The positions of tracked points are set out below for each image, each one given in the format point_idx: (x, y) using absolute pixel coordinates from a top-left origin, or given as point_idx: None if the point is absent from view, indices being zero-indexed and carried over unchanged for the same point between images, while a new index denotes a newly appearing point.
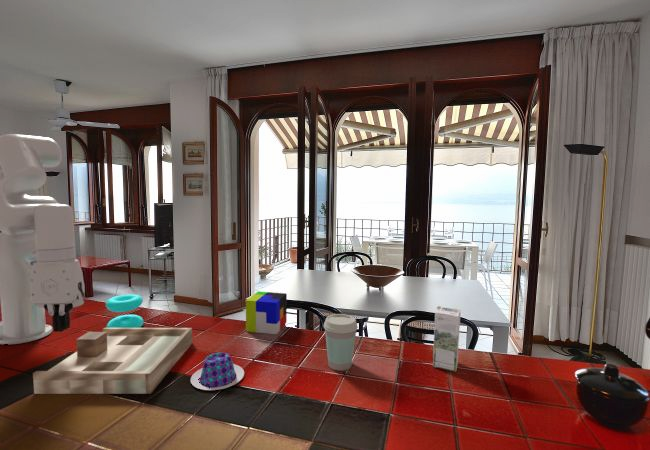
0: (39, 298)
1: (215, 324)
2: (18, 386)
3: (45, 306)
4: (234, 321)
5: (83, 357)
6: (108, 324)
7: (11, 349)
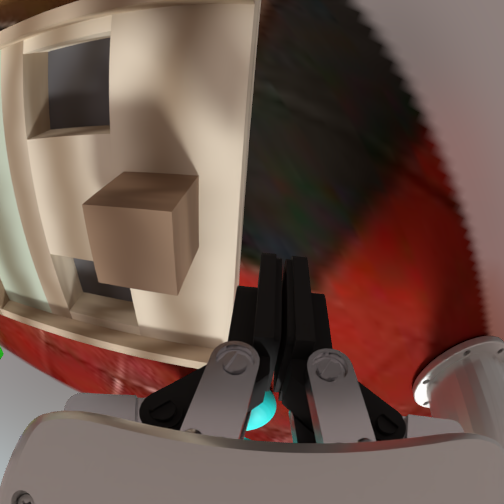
0: (442, 500)
1: (47, 361)
2: (356, 57)
3: (391, 426)
4: (29, 361)
5: (172, 173)
6: (264, 402)
7: (476, 316)
